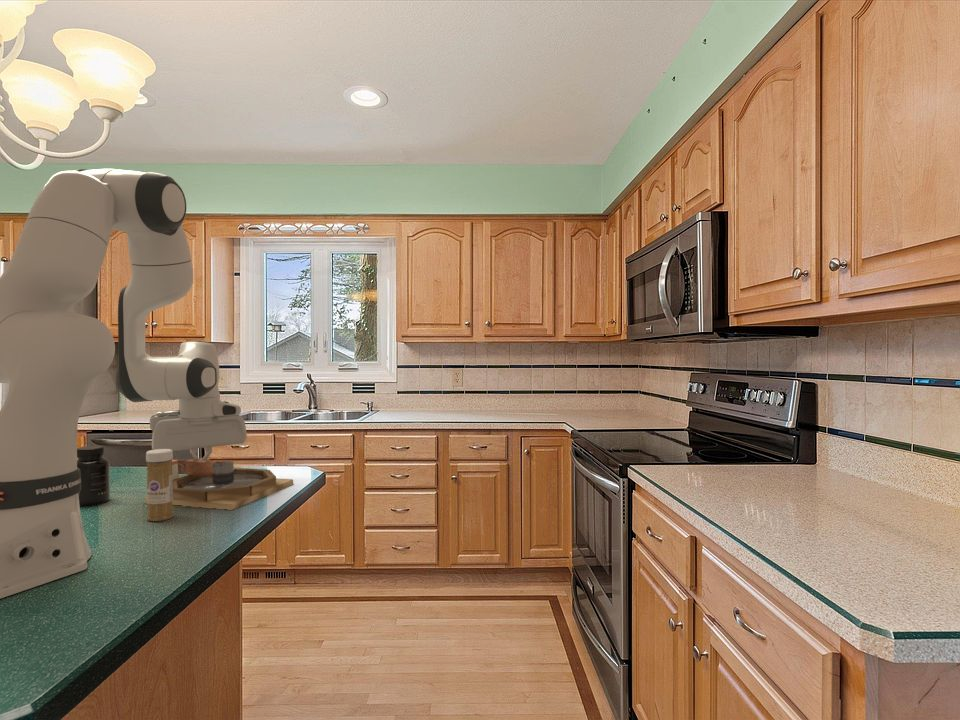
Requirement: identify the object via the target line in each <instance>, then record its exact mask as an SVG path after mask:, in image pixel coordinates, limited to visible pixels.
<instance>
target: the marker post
mask: <svg viewBox="0 0 960 720" xmlns="http://www.w3.org/2000/svg"><path fill="white" fill-rule="evenodd" d="M178 460H179V459H172V480H173V479H177V478H180V474H178Z"/></svg>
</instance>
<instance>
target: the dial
mask: <svg viewBox="0 0 960 720" xmlns="http://www.w3.org/2000/svg"><path fill="white" fill-rule="evenodd" d="M177 460H178V474H179V475H184V476H187V475H196V476H204V477H199V478H195V479H192V480H189V481H187V482H185V483H183V484H182V485H181V488H186V489H200V490H213V489H221V488H229V487H237V486H245V485H249V484H252V483H255V482H257V481H260V480H263V477H262V476H260V475H257V474H251V473H234V466H235V465H234V461H232V460H220V461H218V460H211V459H209V460H208V459H207V460H197V459H195V458H181V459H177Z"/></svg>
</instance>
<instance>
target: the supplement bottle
mask: <svg viewBox="0 0 960 720" xmlns="http://www.w3.org/2000/svg"><path fill="white" fill-rule="evenodd" d="M104 449H105V448H104V446H103V445H87V446H81V447H77V468H79V469H80V473H81V491H80V494H79V505H80V507H89V506H96V505H101V504H104V503H106V502H108V501H109V500H110V498H111V483H110V482H111V480H110V479H111V476H110V472H111V471H110V469H111V468H110V466H111V465H110V461H109V460H108V458H105V457H104V455H105V452H104Z"/></svg>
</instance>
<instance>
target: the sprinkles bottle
mask: <svg viewBox="0 0 960 720" xmlns="http://www.w3.org/2000/svg"><path fill="white" fill-rule="evenodd" d="M172 460H174V451H172V450H171V449H155V450H153V449H151V450H147V451H146V453H145V461H146V472H147V473H146V483H147V484H146V497H147V503H146V506H147V509H146V510H147V512H146V513H147V516H146V520H147V521H149V522H161V521H162V520H163V521H167V520H169V519H172V517H174V513H173V512H174V511H173V505H172V500H173V487H172Z"/></svg>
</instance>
